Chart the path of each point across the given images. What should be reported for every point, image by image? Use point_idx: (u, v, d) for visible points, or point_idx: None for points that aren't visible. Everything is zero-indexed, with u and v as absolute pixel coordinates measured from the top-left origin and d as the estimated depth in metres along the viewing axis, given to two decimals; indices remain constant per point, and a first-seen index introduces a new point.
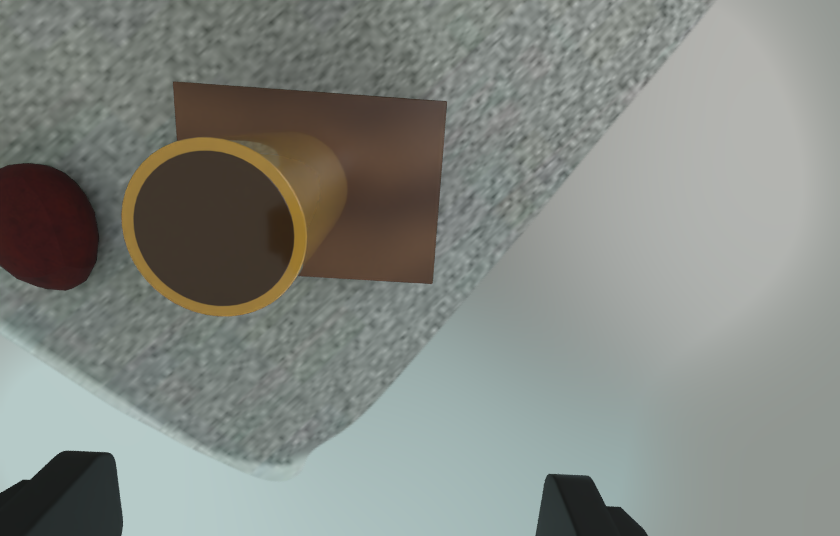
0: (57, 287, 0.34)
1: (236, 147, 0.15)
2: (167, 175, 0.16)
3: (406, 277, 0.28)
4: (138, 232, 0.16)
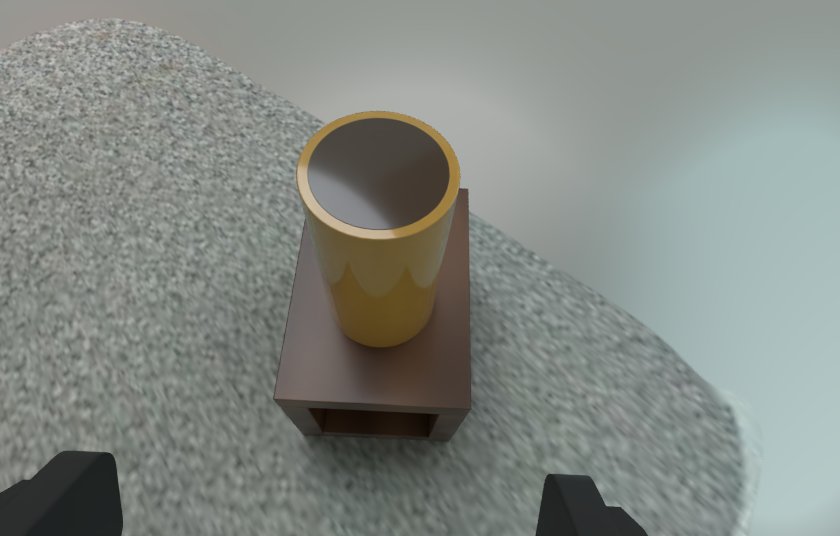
0: None
1: (307, 148, 0.18)
2: (326, 196, 0.17)
3: (463, 207, 0.31)
4: (378, 227, 0.17)
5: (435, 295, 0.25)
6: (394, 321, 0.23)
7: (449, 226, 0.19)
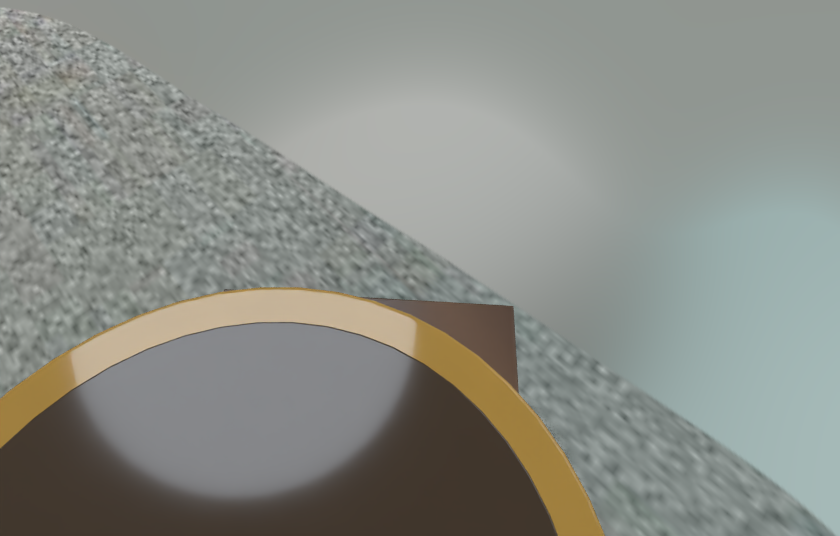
0: None
1: None
2: None
3: (507, 346, 0.17)
4: None
5: None
6: None
7: None
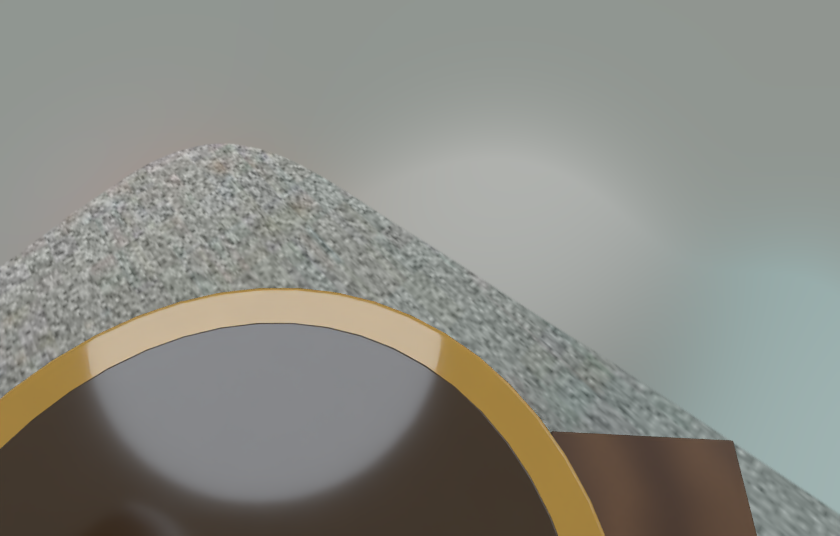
0: None
1: None
2: None
3: (735, 470, 0.26)
4: None
5: None
6: None
7: None
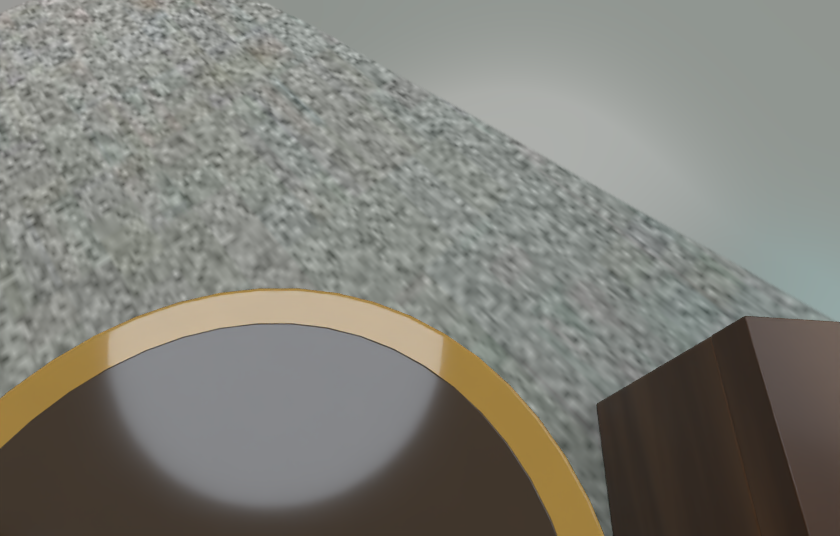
0: None
1: None
2: None
3: None
4: None
5: None
6: None
7: None
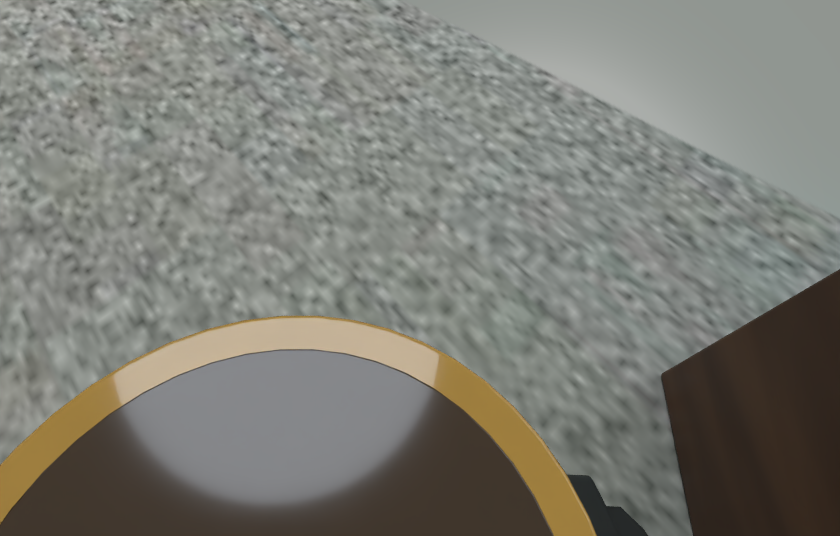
0: None
1: None
2: None
3: None
4: None
5: None
6: None
7: None
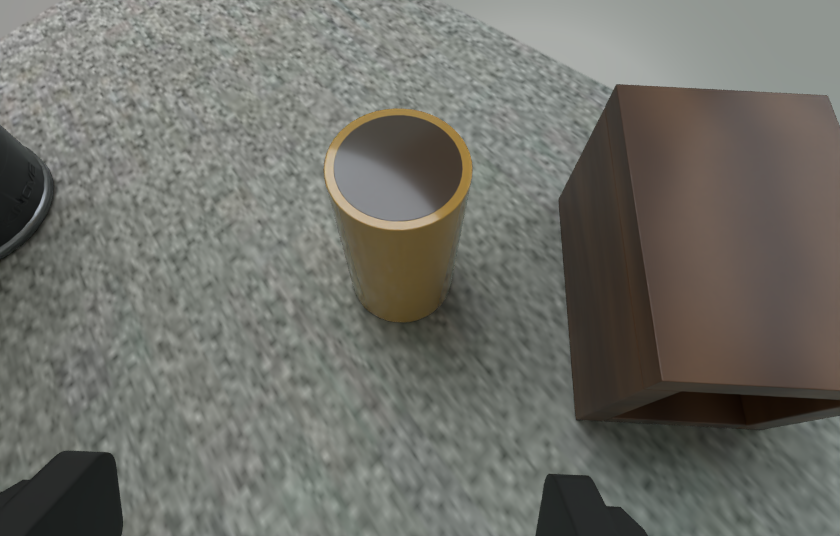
0: None
1: (332, 145, 0.20)
2: (351, 191, 0.19)
3: (831, 119, 0.23)
4: (398, 219, 0.19)
5: (451, 275, 0.27)
6: (413, 299, 0.26)
7: (462, 215, 0.21)
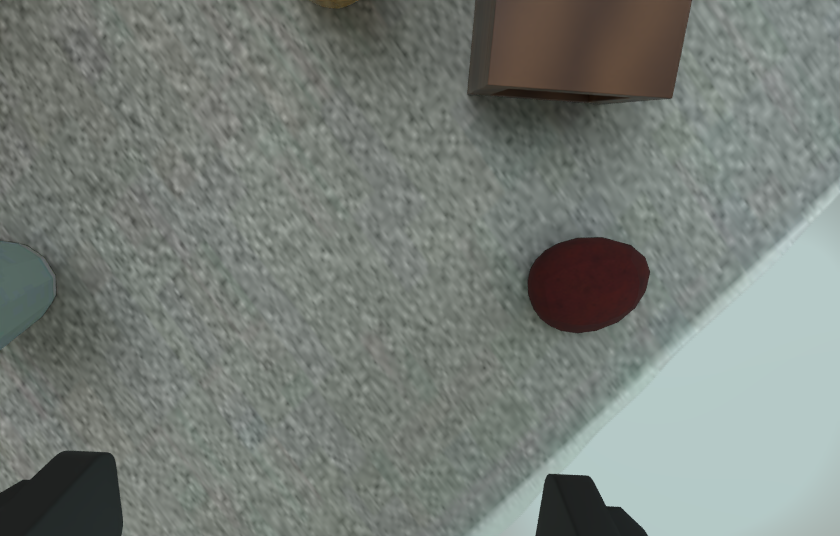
0: (648, 274, 0.35)
1: None
2: None
3: None
4: None
5: None
6: None
7: None
